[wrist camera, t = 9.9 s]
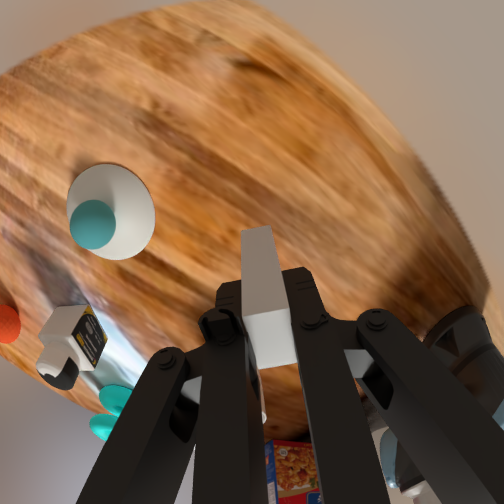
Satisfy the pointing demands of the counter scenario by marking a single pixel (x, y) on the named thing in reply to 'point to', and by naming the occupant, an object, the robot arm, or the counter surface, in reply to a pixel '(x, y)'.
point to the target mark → (117, 207)
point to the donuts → (109, 409)
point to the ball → (92, 224)
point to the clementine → (9, 324)
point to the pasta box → (291, 473)
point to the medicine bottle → (70, 345)
